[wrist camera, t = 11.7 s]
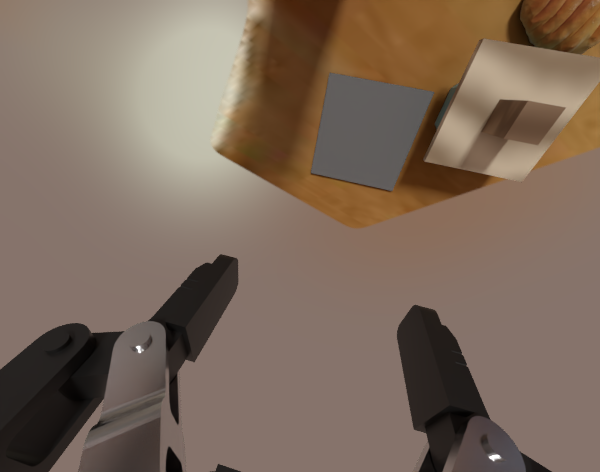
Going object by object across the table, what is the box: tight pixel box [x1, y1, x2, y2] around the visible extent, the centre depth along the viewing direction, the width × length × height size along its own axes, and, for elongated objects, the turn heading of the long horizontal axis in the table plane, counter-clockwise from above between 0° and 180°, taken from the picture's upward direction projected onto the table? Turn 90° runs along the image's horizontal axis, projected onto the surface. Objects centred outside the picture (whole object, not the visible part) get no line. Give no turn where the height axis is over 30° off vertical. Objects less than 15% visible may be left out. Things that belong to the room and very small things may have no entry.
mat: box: [311, 73, 434, 191], centre depth 36 cm, size 15×15×1 cm
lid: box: [423, 39, 600, 182], centre depth 25 cm, size 13×13×6 cm
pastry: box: [520, 0, 600, 55], centre depth 24 cm, size 9×7×4 cm
